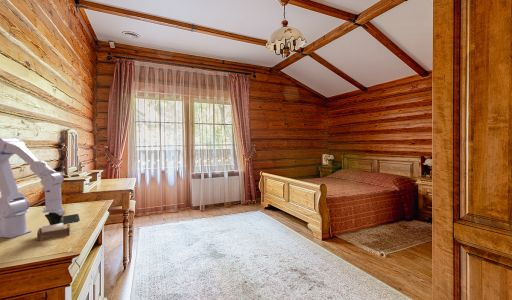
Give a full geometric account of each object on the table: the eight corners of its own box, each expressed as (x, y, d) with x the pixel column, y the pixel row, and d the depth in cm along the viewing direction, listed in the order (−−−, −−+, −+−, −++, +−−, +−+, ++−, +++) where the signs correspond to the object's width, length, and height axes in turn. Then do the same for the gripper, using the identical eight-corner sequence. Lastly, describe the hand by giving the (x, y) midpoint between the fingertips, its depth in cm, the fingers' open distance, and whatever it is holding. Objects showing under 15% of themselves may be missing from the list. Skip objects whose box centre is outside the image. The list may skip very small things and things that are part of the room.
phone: (60, 223, 122) (60, 216, 134) (60, 225, 122) (60, 218, 134) (79, 219, 127) (78, 213, 139) (79, 222, 127) (78, 215, 139)
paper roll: (42, 224, 105) (43, 230, 108) (41, 234, 102) (43, 240, 105) (63, 220, 109) (63, 226, 112) (63, 230, 106) (63, 236, 109)
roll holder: (39, 235, 107) (39, 228, 107) (69, 230, 114) (69, 222, 113) (37, 241, 101) (37, 232, 101) (69, 234, 108) (68, 227, 108)
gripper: (35, 199, 110) (36, 229, 110) (50, 202, 103) (52, 234, 104) (53, 196, 116) (55, 224, 117) (69, 199, 109) (71, 228, 110)
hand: (55, 228), depth 110 cm, fingers closed
